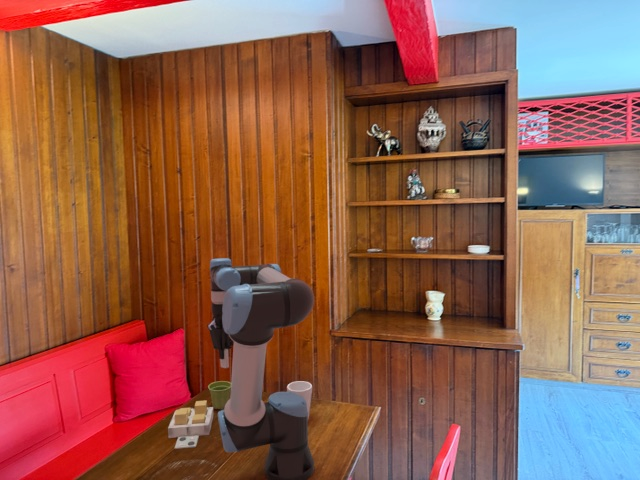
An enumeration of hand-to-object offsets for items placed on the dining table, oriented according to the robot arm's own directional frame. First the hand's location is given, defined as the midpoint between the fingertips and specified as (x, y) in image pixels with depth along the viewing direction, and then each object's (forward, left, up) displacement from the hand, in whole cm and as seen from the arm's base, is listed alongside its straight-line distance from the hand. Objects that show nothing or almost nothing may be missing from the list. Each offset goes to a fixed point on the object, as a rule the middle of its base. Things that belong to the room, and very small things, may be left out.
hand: (224, 366), depth 156 cm
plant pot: (+20, +4, -24) cm, 31 cm away
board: (+5, +13, -24) cm, 27 cm away
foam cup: (+4, -27, -24) cm, 36 cm away
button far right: (+8, +10, -20) cm, 24 cm away
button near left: (+2, +16, -20) cm, 26 cm away
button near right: (+2, +10, -23) cm, 25 cm away
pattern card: (-6, +13, -24) cm, 28 cm away
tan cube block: (+8, +16, -23) cm, 29 cm away
